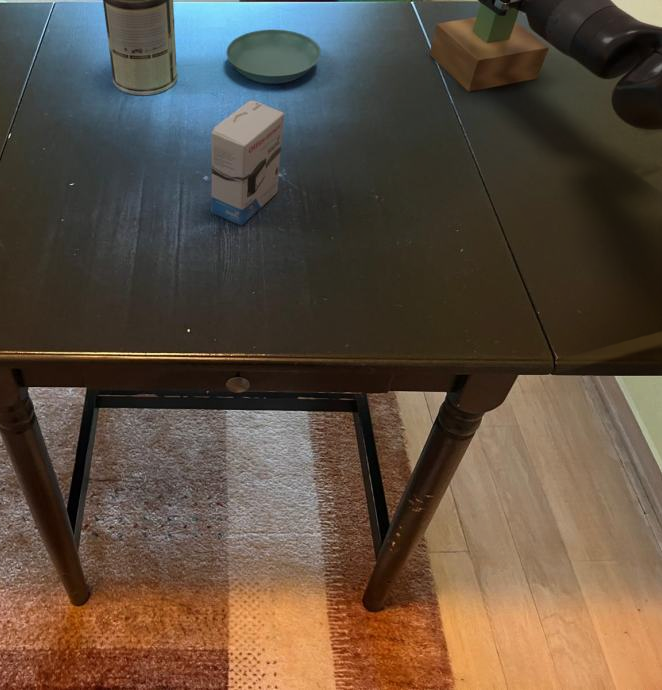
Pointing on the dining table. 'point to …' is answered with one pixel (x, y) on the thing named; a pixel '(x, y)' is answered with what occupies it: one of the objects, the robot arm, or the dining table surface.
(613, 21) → the robot arm
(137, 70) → the coffee can
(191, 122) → the dining table surface
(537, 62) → the wooden block
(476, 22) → the toy tower
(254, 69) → the saucer
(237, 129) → the ink box
